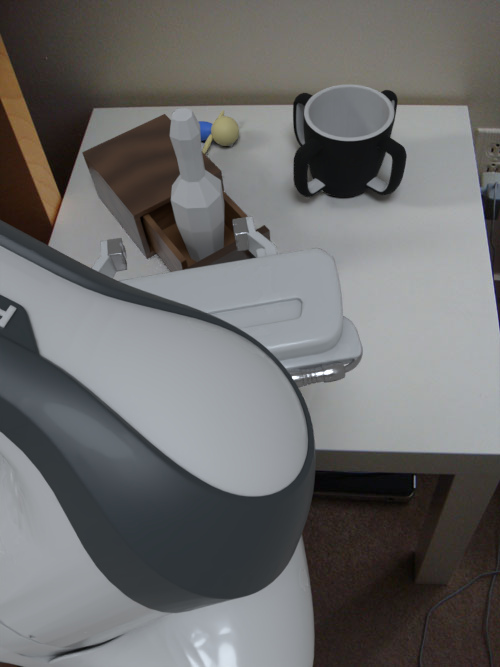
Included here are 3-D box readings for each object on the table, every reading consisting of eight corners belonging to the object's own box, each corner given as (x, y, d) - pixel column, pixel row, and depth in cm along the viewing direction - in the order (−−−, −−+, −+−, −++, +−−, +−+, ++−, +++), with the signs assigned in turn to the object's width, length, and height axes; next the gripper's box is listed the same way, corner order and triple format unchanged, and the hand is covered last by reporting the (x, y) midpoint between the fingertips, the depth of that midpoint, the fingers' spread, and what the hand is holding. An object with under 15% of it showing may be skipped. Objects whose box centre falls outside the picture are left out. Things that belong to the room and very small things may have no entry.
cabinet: (227, 215, 88) (221, 170, 81) (147, 259, 84) (133, 215, 77) (174, 159, 95) (164, 113, 88) (98, 196, 92) (81, 152, 85)
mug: (398, 145, 94) (411, 76, 84) (396, 220, 85) (410, 153, 75) (295, 140, 96) (295, 72, 86) (283, 213, 87) (281, 146, 77)
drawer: (292, 287, 79) (292, 253, 73) (213, 334, 76) (206, 302, 70) (214, 204, 88) (209, 168, 82) (141, 242, 85) (130, 208, 79)
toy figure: (166, 133, 99) (164, 104, 96) (213, 123, 103) (213, 95, 99) (194, 159, 93) (193, 130, 89) (244, 148, 96) (244, 119, 93)
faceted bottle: (221, 274, 79) (199, 138, 61) (177, 264, 81) (142, 128, 62) (237, 239, 83) (220, 100, 64) (194, 230, 84) (165, 92, 66)
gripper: (376, 346, 33) (321, 177, 41) (9, 409, 33) (22, 226, 40) (365, 398, 39) (318, 240, 46) (49, 453, 38) (54, 284, 45)
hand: (178, 234), depth 43 cm, fingers open, 8 cm apart
